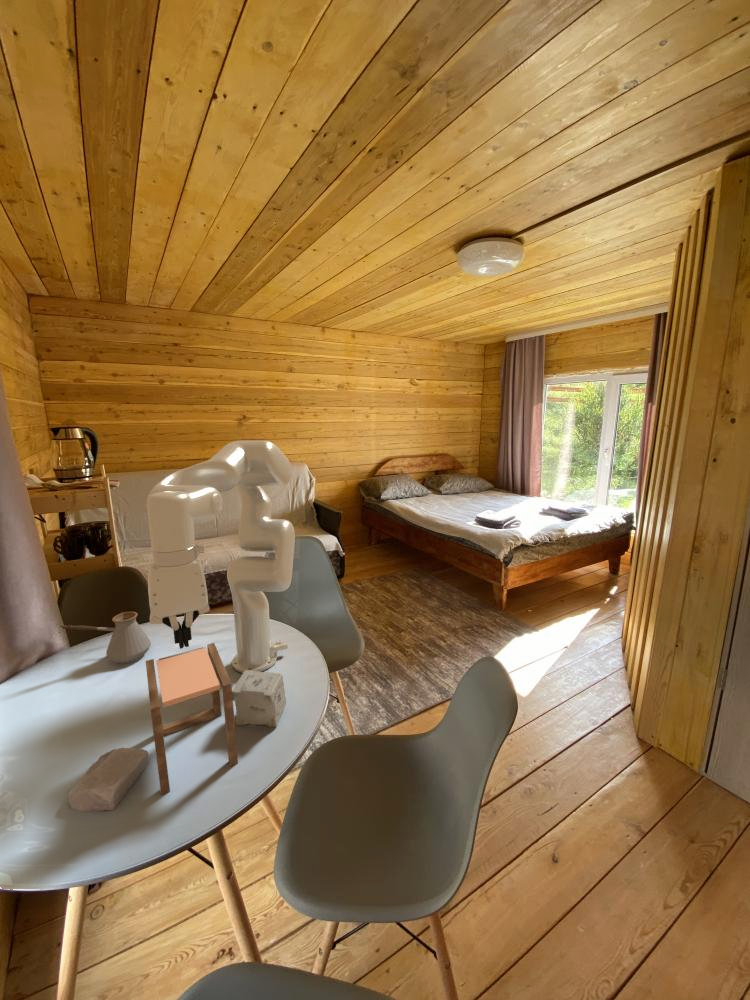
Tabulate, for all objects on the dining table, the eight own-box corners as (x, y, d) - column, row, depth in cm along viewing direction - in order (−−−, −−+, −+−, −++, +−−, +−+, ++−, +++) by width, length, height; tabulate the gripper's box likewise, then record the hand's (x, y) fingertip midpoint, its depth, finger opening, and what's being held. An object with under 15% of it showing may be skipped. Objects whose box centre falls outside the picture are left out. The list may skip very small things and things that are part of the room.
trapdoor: (204, 652, 97) (203, 642, 96) (220, 696, 81) (219, 684, 81) (156, 665, 91) (155, 654, 91) (164, 714, 76) (162, 702, 76)
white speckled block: (232, 729, 94) (229, 687, 92) (249, 704, 102) (246, 666, 100) (273, 733, 92) (271, 691, 90) (287, 708, 100) (285, 669, 98)
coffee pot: (147, 642, 132) (141, 598, 129) (155, 657, 123) (150, 610, 120) (64, 667, 118) (56, 619, 115) (67, 686, 109) (58, 634, 107)
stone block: (65, 820, 74) (116, 813, 74) (56, 797, 74) (108, 789, 73) (110, 768, 86) (155, 761, 85) (103, 748, 85) (148, 740, 85)
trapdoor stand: (220, 711, 99) (214, 642, 96) (237, 763, 84) (231, 683, 81) (154, 734, 92) (145, 660, 89) (161, 795, 77) (150, 709, 74)
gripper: (212, 545, 86) (219, 627, 89) (129, 557, 78) (139, 646, 81) (219, 554, 80) (226, 642, 83) (129, 568, 72) (141, 665, 75)
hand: (183, 644), depth 82 cm, fingers closed
